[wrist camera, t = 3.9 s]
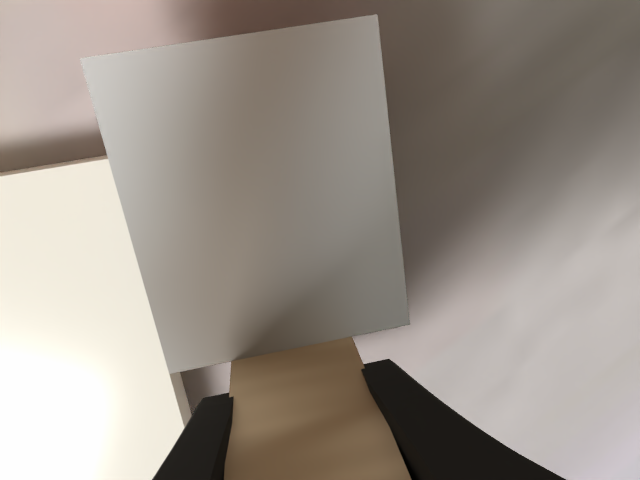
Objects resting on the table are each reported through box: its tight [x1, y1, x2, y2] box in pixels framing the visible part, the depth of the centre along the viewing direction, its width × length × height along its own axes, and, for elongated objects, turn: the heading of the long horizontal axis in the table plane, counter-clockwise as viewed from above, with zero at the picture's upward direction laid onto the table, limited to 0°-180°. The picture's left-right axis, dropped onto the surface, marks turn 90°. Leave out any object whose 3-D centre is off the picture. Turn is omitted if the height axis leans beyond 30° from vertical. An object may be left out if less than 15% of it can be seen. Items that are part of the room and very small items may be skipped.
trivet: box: [0, 155, 192, 480], centre depth 12 cm, size 8×12×1 cm, turn 9°
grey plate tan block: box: [80, 14, 412, 480], centre depth 7 cm, size 5×8×6 cm, turn 8°
